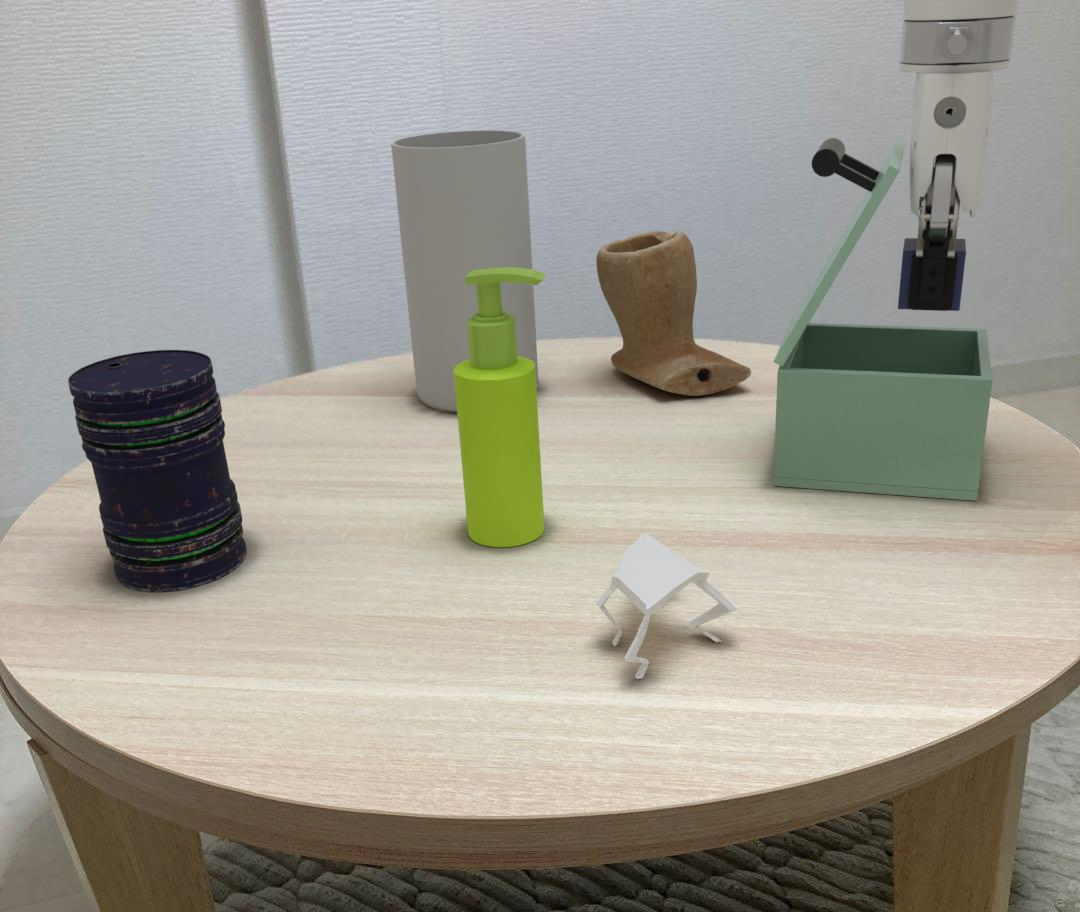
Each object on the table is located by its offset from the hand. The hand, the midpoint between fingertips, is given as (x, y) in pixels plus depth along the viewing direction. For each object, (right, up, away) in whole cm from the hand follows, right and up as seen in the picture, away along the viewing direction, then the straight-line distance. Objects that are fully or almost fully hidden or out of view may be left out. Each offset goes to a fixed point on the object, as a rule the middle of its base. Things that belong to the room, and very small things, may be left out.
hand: (929, 297), depth 89 cm
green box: (-2, -12, +7) cm, 14 cm away
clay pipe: (-18, -3, +29) cm, 34 cm away
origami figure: (-23, -25, -16) cm, 37 cm away
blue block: (0, 0, 0) cm, 0 cm away
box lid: (-7, +4, 0) cm, 7 cm away
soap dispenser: (-33, -18, -1) cm, 37 cm away
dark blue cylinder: (-57, -21, -3) cm, 61 cm away
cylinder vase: (-37, -4, +28) cm, 47 cm away
